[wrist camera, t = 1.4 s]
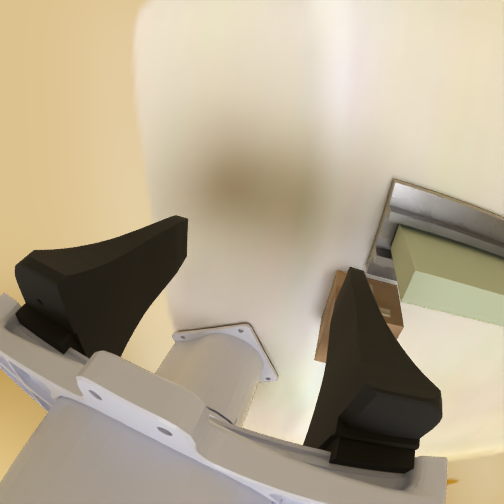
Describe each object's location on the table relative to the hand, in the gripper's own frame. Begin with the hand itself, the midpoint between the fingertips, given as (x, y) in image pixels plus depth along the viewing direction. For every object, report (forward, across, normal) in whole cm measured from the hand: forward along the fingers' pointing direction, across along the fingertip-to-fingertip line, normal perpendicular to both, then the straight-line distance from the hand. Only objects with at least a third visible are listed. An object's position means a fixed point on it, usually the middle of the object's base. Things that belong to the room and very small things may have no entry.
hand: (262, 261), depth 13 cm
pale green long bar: (+9, -14, +1) cm, 17 cm away
